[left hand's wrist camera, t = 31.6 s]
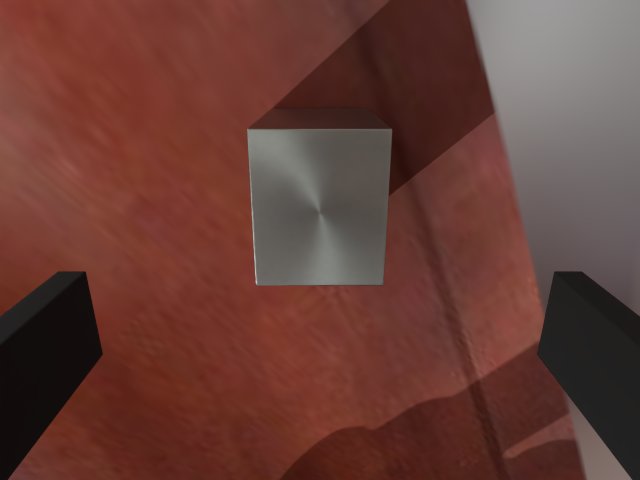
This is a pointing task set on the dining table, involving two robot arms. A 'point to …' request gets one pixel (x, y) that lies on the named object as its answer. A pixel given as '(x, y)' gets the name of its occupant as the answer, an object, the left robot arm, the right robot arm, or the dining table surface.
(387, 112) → the dining table surface
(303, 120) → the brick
